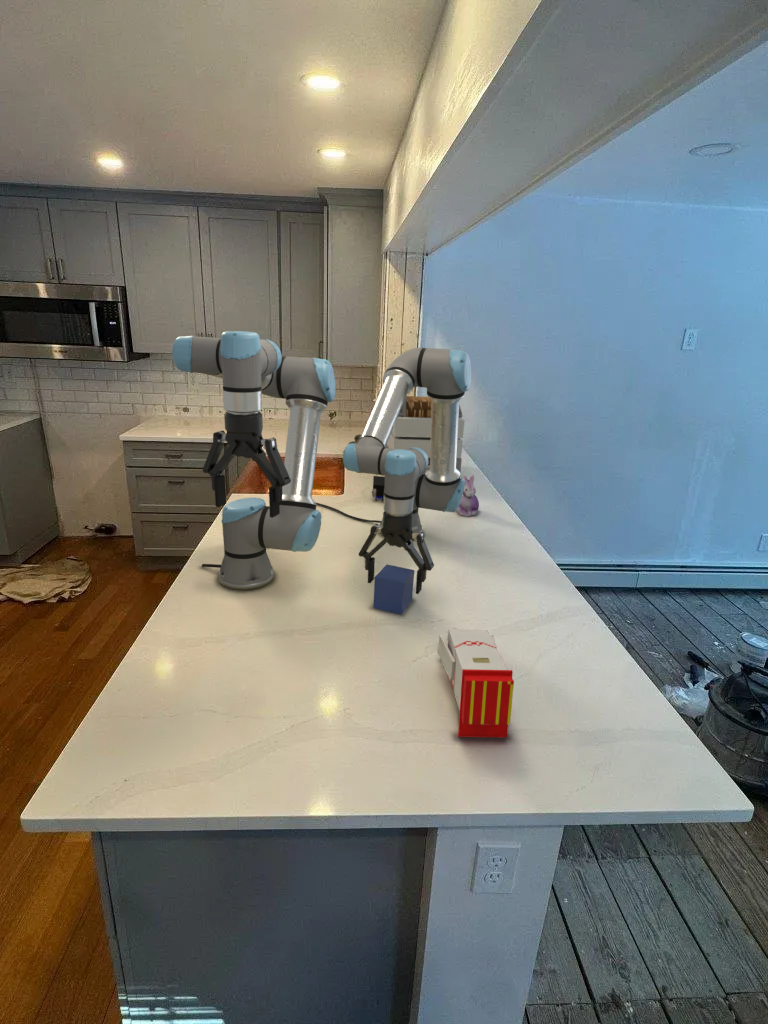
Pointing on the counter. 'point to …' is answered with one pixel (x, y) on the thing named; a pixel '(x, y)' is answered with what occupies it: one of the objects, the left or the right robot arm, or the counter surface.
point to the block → (393, 589)
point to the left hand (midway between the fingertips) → (247, 510)
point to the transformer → (419, 428)
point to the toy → (478, 682)
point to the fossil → (356, 439)
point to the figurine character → (378, 487)
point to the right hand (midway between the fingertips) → (394, 586)
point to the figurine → (469, 498)
